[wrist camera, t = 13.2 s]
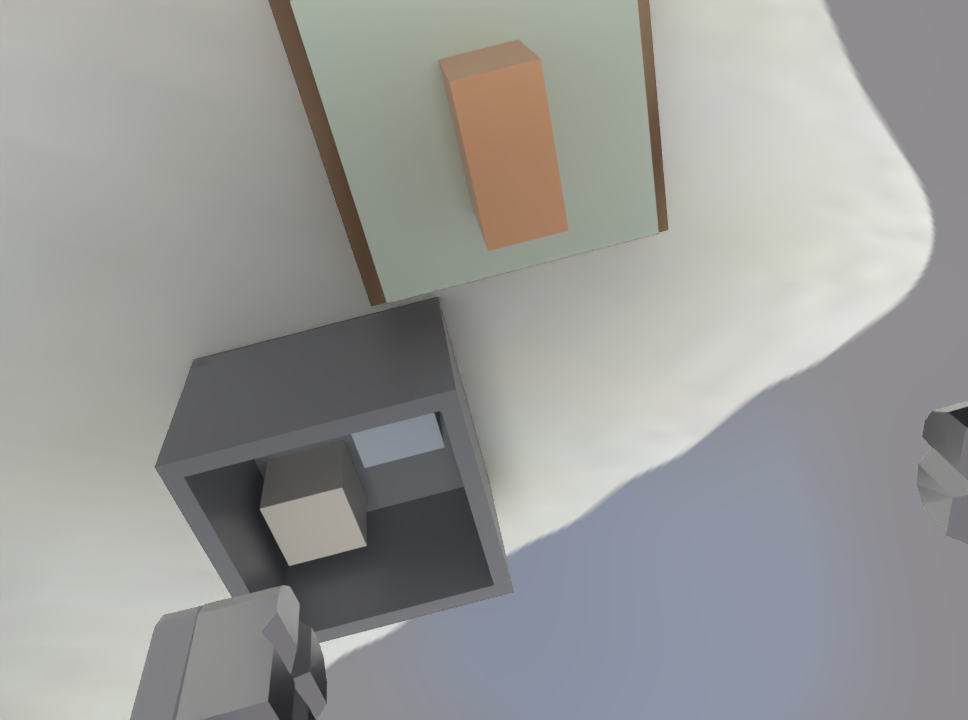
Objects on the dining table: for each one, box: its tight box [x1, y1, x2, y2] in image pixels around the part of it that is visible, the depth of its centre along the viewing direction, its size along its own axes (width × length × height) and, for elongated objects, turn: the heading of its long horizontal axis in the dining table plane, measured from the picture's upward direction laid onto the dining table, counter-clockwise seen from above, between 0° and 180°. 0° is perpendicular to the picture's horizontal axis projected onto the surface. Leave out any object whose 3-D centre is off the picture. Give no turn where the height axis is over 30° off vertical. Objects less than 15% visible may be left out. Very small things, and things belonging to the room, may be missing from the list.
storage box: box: [155, 297, 514, 643], centre depth 36 cm, size 12×12×8 cm
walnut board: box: [269, 0, 668, 306], centre depth 31 cm, size 14×14×1 cm
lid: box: [290, 0, 659, 303], centre depth 28 cm, size 12×12×6 cm
